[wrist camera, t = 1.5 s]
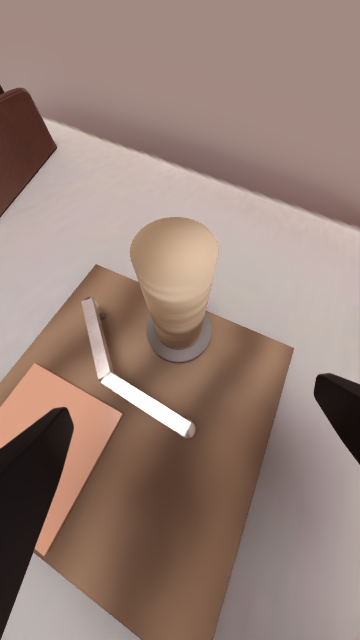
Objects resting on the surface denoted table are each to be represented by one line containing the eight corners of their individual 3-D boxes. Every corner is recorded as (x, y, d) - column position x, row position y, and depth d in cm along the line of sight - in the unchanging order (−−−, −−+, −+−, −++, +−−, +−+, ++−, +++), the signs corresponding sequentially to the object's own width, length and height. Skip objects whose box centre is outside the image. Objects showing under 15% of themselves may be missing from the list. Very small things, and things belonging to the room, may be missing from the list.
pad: (123, 413, 18) (122, 413, 18) (48, 551, 15) (43, 556, 14) (37, 364, 20) (34, 362, 20) (-48, 475, 17) (-55, 477, 16)
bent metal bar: (196, 426, 18) (199, 430, 14) (163, 460, 17) (158, 472, 13) (102, 308, 22) (88, 291, 19) (72, 329, 21) (52, 315, 18)
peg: (219, 319, 22) (256, 226, 11) (194, 374, 19) (208, 328, 8) (166, 296, 23) (150, 192, 12) (136, 346, 21) (83, 273, 10)
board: (289, 350, 21) (293, 348, 20) (198, 667, 13) (199, 686, 12) (99, 269, 26) (95, 264, 25) (-57, 465, 18) (-70, 469, 17)
